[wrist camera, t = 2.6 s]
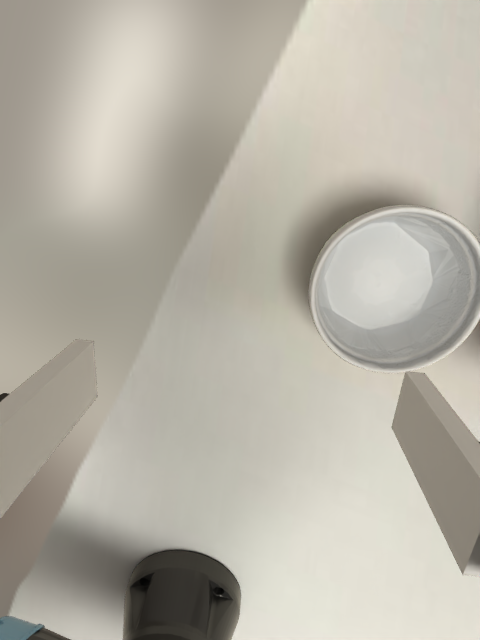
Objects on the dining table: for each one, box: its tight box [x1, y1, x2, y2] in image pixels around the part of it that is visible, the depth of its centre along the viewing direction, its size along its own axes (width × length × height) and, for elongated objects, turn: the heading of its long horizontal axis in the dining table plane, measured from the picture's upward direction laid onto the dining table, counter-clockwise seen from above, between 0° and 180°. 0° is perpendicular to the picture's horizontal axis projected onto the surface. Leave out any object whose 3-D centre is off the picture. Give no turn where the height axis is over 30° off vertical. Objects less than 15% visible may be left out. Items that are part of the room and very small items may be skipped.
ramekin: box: [308, 205, 480, 373], centre depth 32 cm, size 13×13×7 cm
